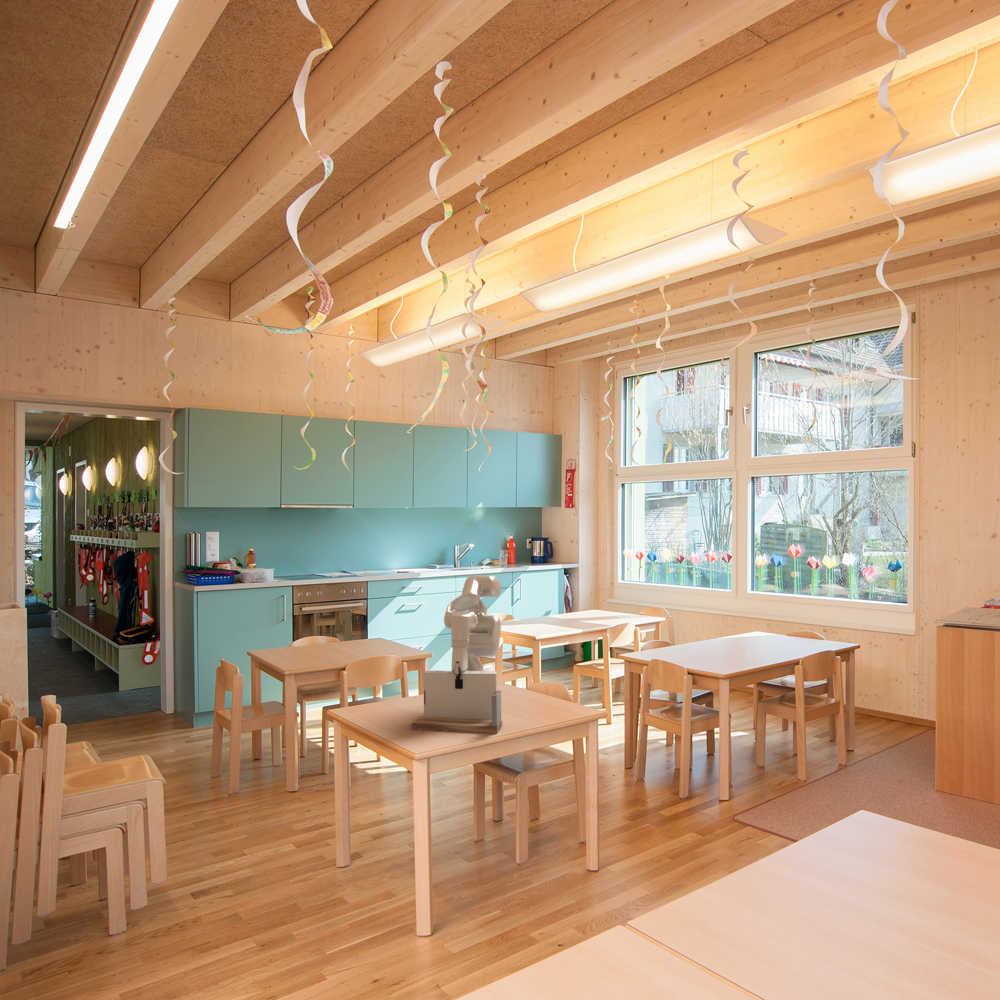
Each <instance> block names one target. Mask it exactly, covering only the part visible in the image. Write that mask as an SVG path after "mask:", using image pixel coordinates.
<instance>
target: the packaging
mask: <svg viewBox="0 0 1000 1000" xmlns="http://www.w3.org/2000/svg"><path fill="white" fill-rule="evenodd" d="M459 674H460V673H459ZM462 679H463V689H455V671H454V672H452V670H426V671H424V673H423V717H432V718H456V719H479V720H492V695H493V694H494V693H495V691H499V690H498V689H499V687H498V671H496V670H483V671H463V672H462Z"/></svg>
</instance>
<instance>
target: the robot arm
mask: <svg viewBox="0 0 1000 1000" xmlns="http://www.w3.org/2000/svg"><path fill="white" fill-rule="evenodd" d="M501 591H502V585H501V582H500V580H499V578H497V577H495V576H493V575H470V576H468V577H467V578H466V579H465V582H464V584H463V588H462V591H461V595H459V596H458V597H456V598H454V599H453V600H452V601H450V602H449V604H448V605H447V608H446V611H445V613H444V617H443V623H444V626H445V628H447V629H449V630H450V631H451V633H450V635H451V647H450V648H452V653H451V671H452V672H454V671H455V689H463V679H462V672H463V671H484V665H483V663H482V661H481V659H480V657H485V658H486V657H489V658H490V657H491V658H492V657H495V656H497V655H498V654H499V648H500V641H501V633H502V632H501V629H502V625H501V624H502V623H501V619H500V618H499V616H497V615H492V614H491V615H490V614H488V615H487V612H488V607H487V606H486V604H485V603H484V602H483V600H481V598H498V597H499V596H500V594H501ZM459 673H460V674H459Z"/></svg>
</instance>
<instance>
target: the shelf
mask: <svg viewBox="0 0 1000 1000" xmlns="http://www.w3.org/2000/svg"><path fill="white" fill-rule="evenodd" d="M501 727H502V728H503V720H502V719H501V722H500V723H499V724H498V726H497V727H494V726H492V720H479V719H456V718H432V717H424V716H418V718H416V719H414V721H413V722H412V723H411V730H412V729H421V730H420V731H434V730H447V731H446V732H456V731H469V732H468V733H478V732H486V733H485V734H498V733H499V732H500V730H501V729H502V728H501Z"/></svg>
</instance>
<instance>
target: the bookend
mask: <svg viewBox="0 0 1000 1000" xmlns="http://www.w3.org/2000/svg"><path fill="white" fill-rule="evenodd" d="M501 720H502V690H498V691H495V693H494V694H493V695H492V726H494V727H497V726H498V724H499V723H500V722H501Z"/></svg>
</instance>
